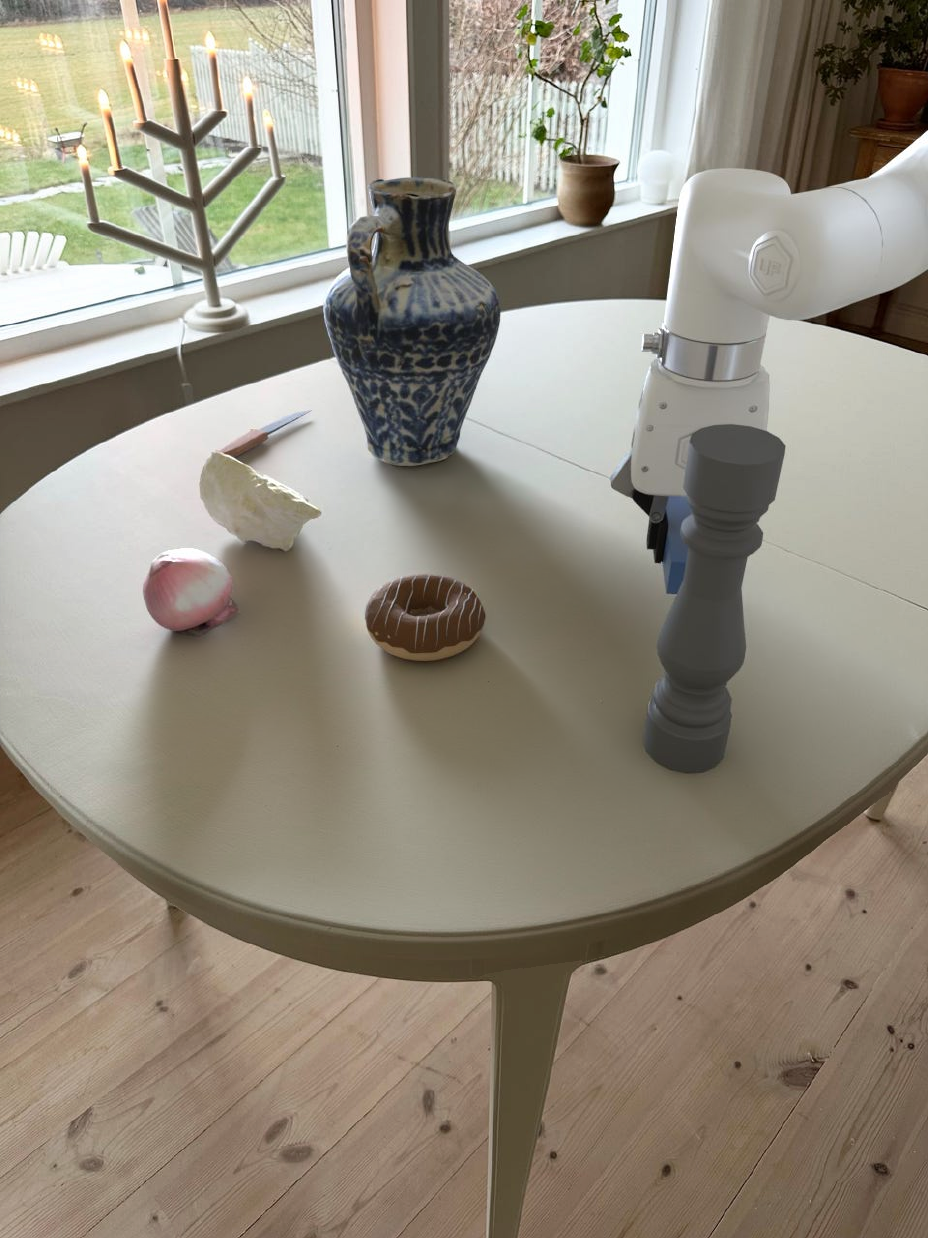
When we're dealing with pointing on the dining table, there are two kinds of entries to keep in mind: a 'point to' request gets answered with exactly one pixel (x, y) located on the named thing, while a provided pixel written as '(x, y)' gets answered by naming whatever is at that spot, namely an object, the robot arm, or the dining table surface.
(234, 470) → the cheese
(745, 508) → the candle holder
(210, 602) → the onion
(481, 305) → the jug
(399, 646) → the donut
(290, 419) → the knife
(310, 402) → the dining table surface
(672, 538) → the spoon
